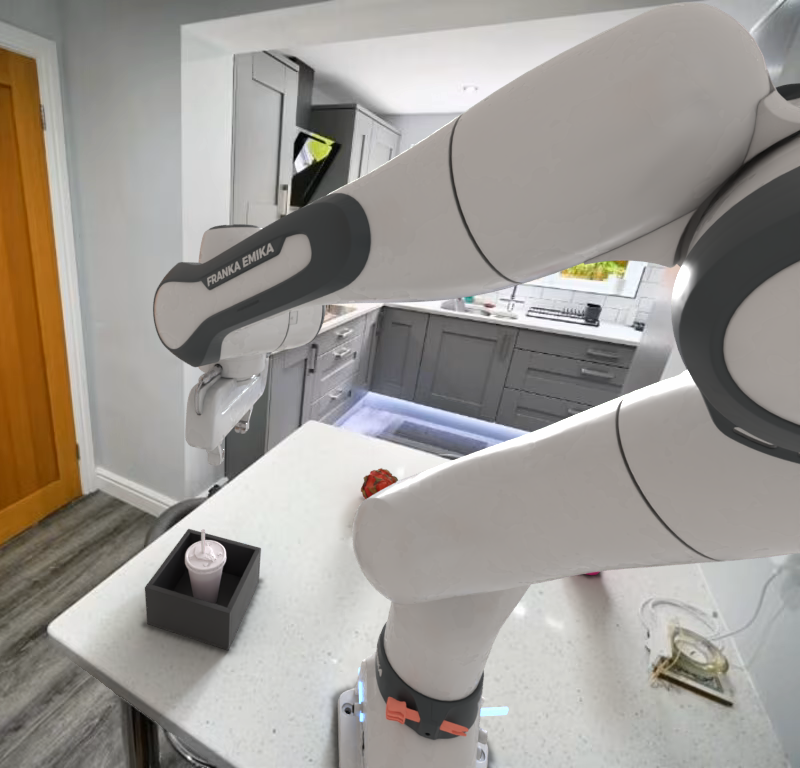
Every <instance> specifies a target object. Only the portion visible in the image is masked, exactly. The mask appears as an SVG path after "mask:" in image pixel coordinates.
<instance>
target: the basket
mask: <svg viewBox="0 0 800 768" xmlns="http://www.w3.org/2000/svg"><path fill="white" fill-rule="evenodd" d="M205 540H212V541H216V542H218V543H220V544H221V545H222V546H223V547H224V548H225V551H226V562H225V564H224V566H223V569H222V574H221V580H220V586H219V591H218V597H217V602H216V603H215V604H213V603H210V602H207V601H204V600H200V599H197V598H194V597H193V591H192V586H191V581H190V576H189V571H188V568H187V567H186V564H185V554H186V551H187V549H188V548H189V547H190V546H191V545H193V544H194V543H196V542H199V541H201V531H198V530H195V529H191V528H188V529H186V531H185V532H184V534H183V536H182V537H180V539H179V541H178V542H177V543H176V545H175V546H174V548H173V549H172V550H171V551H170V553H169V554H168V556H167V557H166V558H165V560H163V562H162V563H161V565H160V566H159V567H158V569H157V570H156V572H155V573H154V574H153V576H152V577H151V578H150V580H149V581H148V582H147V584H146V585H145V586H144V596H145V597H144V598H145V610H146V611H145V612H146V625H150V626H152V627H155V628H159V629H162V630H165V631H168V632H171V633H173V634H177V635H180V636H183V637H185V638H189V639H192V640H195V641H198V642H201V643H204V644H207V645H211V646H213V647H217V648H220V649H223V650H226V651H230V649H231V647H232V644H233V642H234V640H235V638H236V635H237V633H238V630H239V628H240V625H241V624H242V622H243V620H244V617H245V615H246V613H247V610H248V608H249V605H250V603H251V601H252V598H253V596H254V594H255V592H256V589H257V587H258V585H259V583H260V571H261V553H262V548H261V547H259V546H255V545H252V544H248V543H244V542H241V541H238V540H237V541H236V540H232V539H229V538H225V537H221V536H218V535H214V534H210V533H207V532H205Z"/></svg>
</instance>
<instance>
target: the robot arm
mask: <svg viewBox="0 0 800 768" xmlns="http://www.w3.org/2000/svg"><path fill="white" fill-rule="evenodd" d="M200 241H201V242H200V247H199V255H198V262H194V261H193V262H192V261H191V262H189V261H180V262H177V263H176V264H175V265H174V266H172V268H171V269H170V270H168V272H167V273H166V274H165V276H163V278H162V280H161V281H160V283H159V284H158V286H157V288H156V289H155V291H154V296H153V302H152V303H153V304H152V316H153V324H154V329H155V331H156V334H157V337H158V339H159V341H160V342H161V344H162V345H163V347H164V348H166V350H168V351H169V352H170V353H171V354H172V355H174V356H175V357H176V358H178V359H179V360H180V361H182V362H184V363H185V364H187V365H189V366H191V367H193V368H198V369H199V370H200V371H201V372H202V373H203V374H201V375H200V376H199V377H198V381H197V383H196V384H195V385H193V386H192V388H190V391H189V394H188V396H187V402H186V413H185V433H184V437H185V441H186V443H187V444H188V446H190V447H192V448H196V449H200V450H205V451H206V452H207V463H208V464H209V465H211V466H214V467H215V466H216V467H220V465H221V464H222V463H223V462H224V460H225V453H226V451H225V450H226V449H224V448H222V443H223V440H224V439H225V438H226V437H227V436H228V435H229V433H230V432H231V431H232V430H233V428H234V432H235V433H237V434H241V435H245V434H246V433H247V432H248V430H249V429H250V420H251V416H252V412H253V409H254V405H255V404H256V402H257V401H258V400H259V399H260V398H261V397H262V396H263V394H264V392H265V389H266V385H267V381H268V372H269V364H270V358H269V357H270V356H271V355H272V353H273V352H279V351H286V350H291V349H296V348H300V347H302V346H305V345H309V344H310V343H312V342H313V341H314V340H315V339H316V338H317V336H318V335H319V333H320V332H321V330H322V327H323V325H324V322H325V317H326V309H327V308H326V306H329V305H345V304H399V303H403V304H404V303H424V302H438V301H450V300H457V299H463V298H470V297H475V296H481V295H485V294H490V293H495V292H499V291H502V290H506V289H511V288H513V287H517V286H520V285H523V284H527V283H531V282H534V281H536V280H539V279H542V278H546V277H549V276H551V275H555V274H556V273H559V272H560V273H561V272H563V271H565V270H568V269H571V268H574V267H576V266H579V265H582V264H584V266H585V265H591V264H597V263H602V262H614V261H615V262H616V261H618V262H619V261H625V262H626V261H629V262H643V263H647V264H648V263H649V264H655V265H660V266H661V267H666V268H670V269H671V268H674V267H675V266H678V267H680V268H679V271H678V273H677V276H676V278H675V281H674V285H673V289H672V293H671V294H672V295H671V302H670V315H671V319H670V320H671V325H672V332H673V336H674V341H675V344H676V348H677V351H678V354H679V356H680V358H681V361H682V363H683V365H684V367H685V369H686V370H684V371H683V372H681V373H680V374H677V375H675V376H672V377H669V378H666V379H662V380H660V381H658V382H655V383H652V384H649V385H647V386H644V387H642V388H639V389H636V390H633V391H631V392H628V393H626V394H624V395H621V396H619V397H617V398H614V399H611V400H609V401H607V402H604V403H601V404H599V405H596V406H594V407H591V408H589V409H587V410H584V411H581V412H579V413H577V414H574V415H572V416H569V417H567V418H564V419H562V420H559V421H557V422H555V423H551V424H549V425H547V426H545V427H542V428H540V429H537V430H534V431H532V432H531V431H530V432H529V433H525V434H523V435H520V436H517V437H515V438H514V437H513V438H512V439H509V440H505V441H503V442H500V443H497V444H495V445H492V446H489V447H486V448H483V449H481V450H478V451H475V452H471V453H469V454H467V455H464V456H461V457H458V458H456V459H453V460H450V461H447V462H444V463H442V464H439V465H436V466H434V467H431V468H428V469H426V470H422V471H420V472H418V473H415V474H412V475H410V476H407V477H405V478H402V479H400V480H398V481H397V482H396V483H394V484H392V485H390V486H388V487H386V488H384V489H382V490H381V491H379V492H377V493H375V494H374V495H372V496H371V497H369V498H367V499H364V500H363V501H362V502H360V504H359V506H358V507H357V509H356V511H355V515H354V519H353V522H352V531H351V533H352V534H351V538H352V541H351V542H352V548H353V552H354V556H355V559H356V561H357V565H358V567H359V569H360V571H361V573H362V574H363V576H364V577H365V579H366V581H368V583H369V584H370V585H371V586H372V587H373V588H374V589H375V590H376V591H377V592H378V593H379V594H381V596H383V597H384V598H386V599H387V600H389V601H390V607H389V611H388V615H387V619H386V622H385V623H384V624H383V627H382V628H381V630H380V633H379V636H378V638H377V642H376V650H375V652H373V653H372V654H370V655H368V656H367V657H365V659H362V660H361V664H360V667H358V670H357V674H358V676H357V680H356V683H355V687H353V688H351V689H348V690H345V691H344V692H342V693H341V694H340V695H339V698H338V700H337V735H338V737H337V738H338V768H488V764H489V763H488V762H489V746H488V743H487V742H488V735H489V733H488V731H487V730H486V729H483V728H481V726H480V724H481V717H487V716H488V717H489V716H506V715H508V712H509V707H508V706H499V707H498V706H497V707H495V706H494V707H483V705H484V703H485V697H483V690H484V680H485V667H486V665H487V662H488V659H489V657H490V654H491V651H492V649H493V646H494V644H495V641H496V639H497V636H499V633H500V631H501V629H502V628H503V626H504V625H505V623H506V621H507V620H508V618H509V617H510V615H511V614H512V613H513V612H514V610H515V609H516V607H517V606H518V605H519V603H520V602H521V600H522V599H523V598H524V596H525V594H526V593H527V591H528V590H529V588H530V587H531V585H536V584H541V583H547V582H552V581H557V580H561V579H565V578H570V577H574V576H578V575H579V576H580V575H587V574H586V573H592V572H599V571H600V572H607V571H618V570H628V569H629V570H630V569H643V568H656V567H668V566H669V567H670V566H681V565H682V566H683V565H693V564H705V563H706V564H707V563H719V562H720V563H722V562H733V561H745V560H755V559H764V558H765V559H766V558H771V557H779V556H787V555H788V556H789V555H795V554H800V82H797V83H796V82H795V83H787V84H783V85H779V86H775V84H774V82H773V80H772V79H771V75H770V72H769V69H768V67H767V63H766V60H765V57H764V54H763V52H762V50H761V48H760V46H759V45H758V43H757V41H756V39H755V38H754V36H753V35H751V33H750V32H749V31H748V30H747V28H746V27H745V26H744V25H743V24H741V23H740V22H739V21H738V20H737V19H736V18H735V17H733V16H732V15H730V14H728V13H727V12H725V11H723V10H721V9H720V8H718V7H716V6H713V5H711V4H706V3H701V2H693V1H692V2H690V1H687V2H674V3H673V2H672V3H669V4H664V5H660V6H657V7H654V8H652V9H650V10H647V11H644V12H642V13H640V14H638V15H636V16H633V17H631V18H630V19H627V20H625V21H623V22H621V23H619V24H617V25H615V26H613V27H610V28H608V29H606V30H604V31H602V32H600V33H597V34H596V35H593V36H591V37H590V38H588V39H586V40H584V41H582V42H579V43H578V44H576V45H574V46H571V47H570V48H568V49H566V50H565V51H563V52H561V53H558V54H557V55H555V56H553V57H551V58H549V59H548V60H546V61H544V62H543V63H540V64H538V65H537V66H535V67H534V68H532V69H530V70H528V71H526V72H524V73H523V74H521V75H520V76H518V77H516V78H515V79H513V80H512V81H509V82H508V83H507V84H505V85H503V86H502V87H500V88H498V89H496V90H495V91H494V92H491V93H490V94H489V95H487V96H486V97H484V98H483V99H481V100H480V101H479V102H477V103H476V104H474V105H472V106H471V107H469V108H468V109H466V110H465V111H464V112H462V113H461V114H459V115H458V116H456V117H455V118H454V119H452V120H451V121H449V122H448V123H446V124H445V125H443V126H442V127H440V128H439V129H437V130H435V131H434V132H432V133H431V134H430V135H428V136H426V137H425V138H424V139H422V140H420V141H419V142H417V143H415V144H414V145H412V146H411V147H409V148H408V149H406V150H404V151H402V152H401V153H400V154H398V155H396V156H395V157H393V158H391V159H390V160H388V161H386V162H385V163H383V164H381V165H380V166H378V167H376V168H374V169H373V170H371V171H369V172H367V173H365V174H364V175H362V176H360V177H358V178H357V179H355V180H352V181H351V182H349V183H347V184H345V185H343V186H341V187H339V188H337V189H335V190H333V191H331V192H330V193H328V194H327V195H323V196H321V197H319V198H318V199H316V200H314V201H312V202H310V203H308V204H306V205H304V206H303V207H300V208H298V209H296V210H294V211H291V212H289V213H287V214H286V215H283V216H282V217H281V218H278V219H277V220H275V221H273V222H271V223H270V224H268V225H266V226H264V227H260V226H257V225H254V224H245V223H244V224H243V223H233V224H220V225H214V226H211V227H209V228H208V229H206V230H205V231H204V233H203V235H202V238H201V240H200ZM600 572H599V573H600ZM346 712H349V714H348V713H346Z"/></svg>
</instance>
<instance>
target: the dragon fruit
mask: <svg viewBox="0 0 800 768" xmlns="http://www.w3.org/2000/svg"><path fill="white" fill-rule="evenodd" d="M398 481H399V479H398V477H397V476H395V475H393V474H392V473H391V471H390V470H388V469H386V468H383V467H381V468H378V469H372V470H370V471H369V473H368V475H367V474H366V475H365V476H364V477H363V483H362V486H361V488H360V492H361V495H362V497H363V498H364V500H366V499H367V498H369V497H371V496H372V495H374V494H375V493H377V492H379V491H381V490H382V489H384V488H386V487H388V486H390V485H392V484H394V483H396V482H398Z"/></svg>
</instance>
